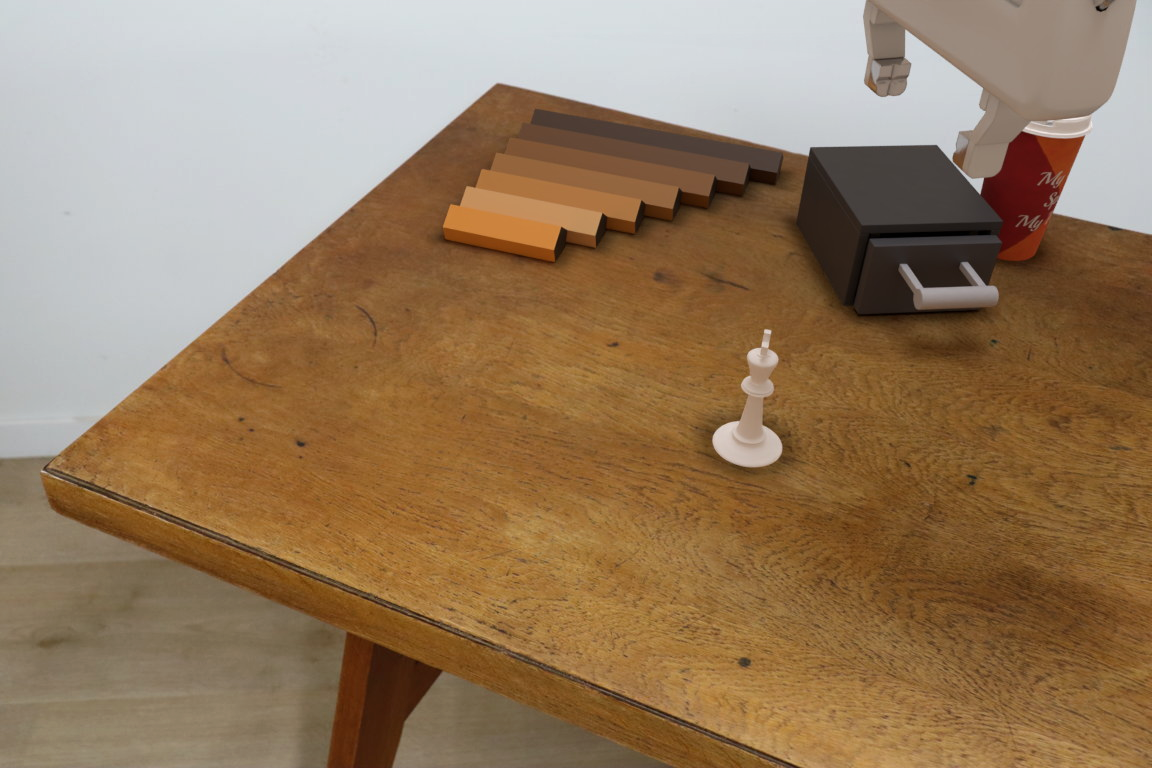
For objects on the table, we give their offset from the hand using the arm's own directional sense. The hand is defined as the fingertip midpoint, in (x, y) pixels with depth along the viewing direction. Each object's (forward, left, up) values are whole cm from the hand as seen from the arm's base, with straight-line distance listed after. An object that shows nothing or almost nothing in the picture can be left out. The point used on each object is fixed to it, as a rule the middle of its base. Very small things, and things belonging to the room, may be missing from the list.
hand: (926, 128), depth 56 cm
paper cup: (-26, -31, -27) cm, 48 cm away
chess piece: (+4, -6, -27) cm, 27 cm away
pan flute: (+7, -40, -27) cm, 48 cm away
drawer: (-14, -24, -25) cm, 37 cm away
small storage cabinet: (-14, -29, -26) cm, 41 cm away
